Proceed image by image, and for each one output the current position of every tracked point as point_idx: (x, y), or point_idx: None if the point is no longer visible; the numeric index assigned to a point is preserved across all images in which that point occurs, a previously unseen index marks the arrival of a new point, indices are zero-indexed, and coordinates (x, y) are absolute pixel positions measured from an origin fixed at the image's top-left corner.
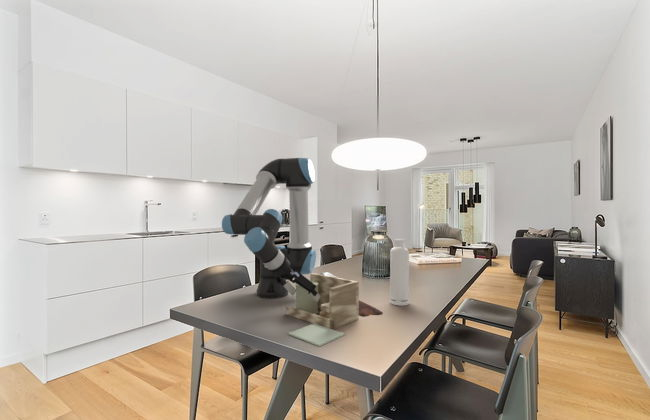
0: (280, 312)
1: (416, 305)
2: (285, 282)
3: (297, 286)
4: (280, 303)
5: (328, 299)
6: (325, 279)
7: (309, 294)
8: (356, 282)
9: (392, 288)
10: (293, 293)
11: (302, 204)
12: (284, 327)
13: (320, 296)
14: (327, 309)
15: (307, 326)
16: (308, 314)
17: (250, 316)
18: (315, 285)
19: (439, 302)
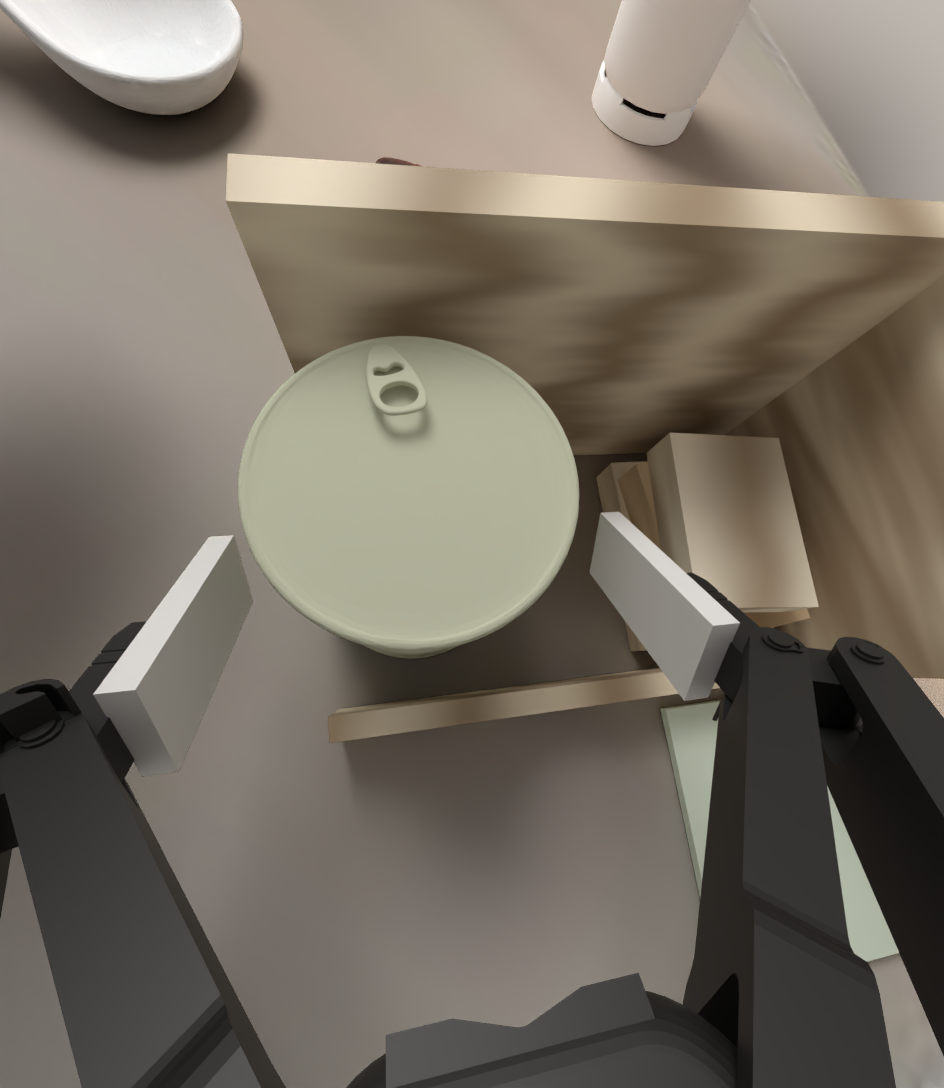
0: (262, 741)
1: (714, 105)
2: (111, 733)
3: (396, 648)
4: (48, 586)
5: None
6: (558, 261)
7: (654, 659)
8: None
9: (687, 19)
10: (243, 591)
11: None
12: (582, 930)
13: (618, 515)
14: (759, 610)
15: (690, 787)
16: (613, 701)
17: None
18: (897, 664)
19: (737, 27)
